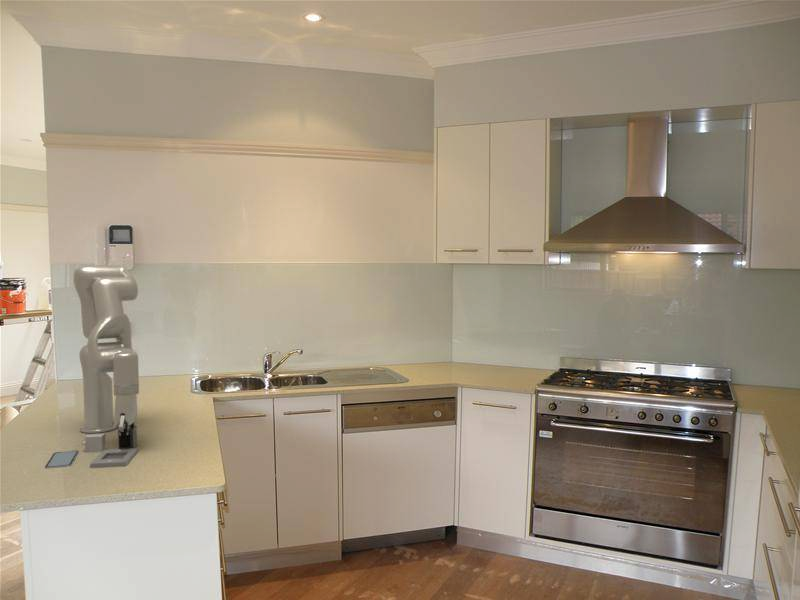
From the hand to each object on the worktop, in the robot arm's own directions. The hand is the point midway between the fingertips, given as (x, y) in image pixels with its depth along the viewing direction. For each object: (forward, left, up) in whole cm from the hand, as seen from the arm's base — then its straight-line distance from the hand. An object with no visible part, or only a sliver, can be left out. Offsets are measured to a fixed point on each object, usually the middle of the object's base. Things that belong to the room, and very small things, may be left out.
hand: (127, 443), depth 203 cm
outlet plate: (+11, -1, -2) cm, 11 cm away
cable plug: (0, -10, -2) cm, 10 cm away
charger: (0, 0, -2) cm, 2 cm away
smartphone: (+9, -17, -2) cm, 19 cm away
